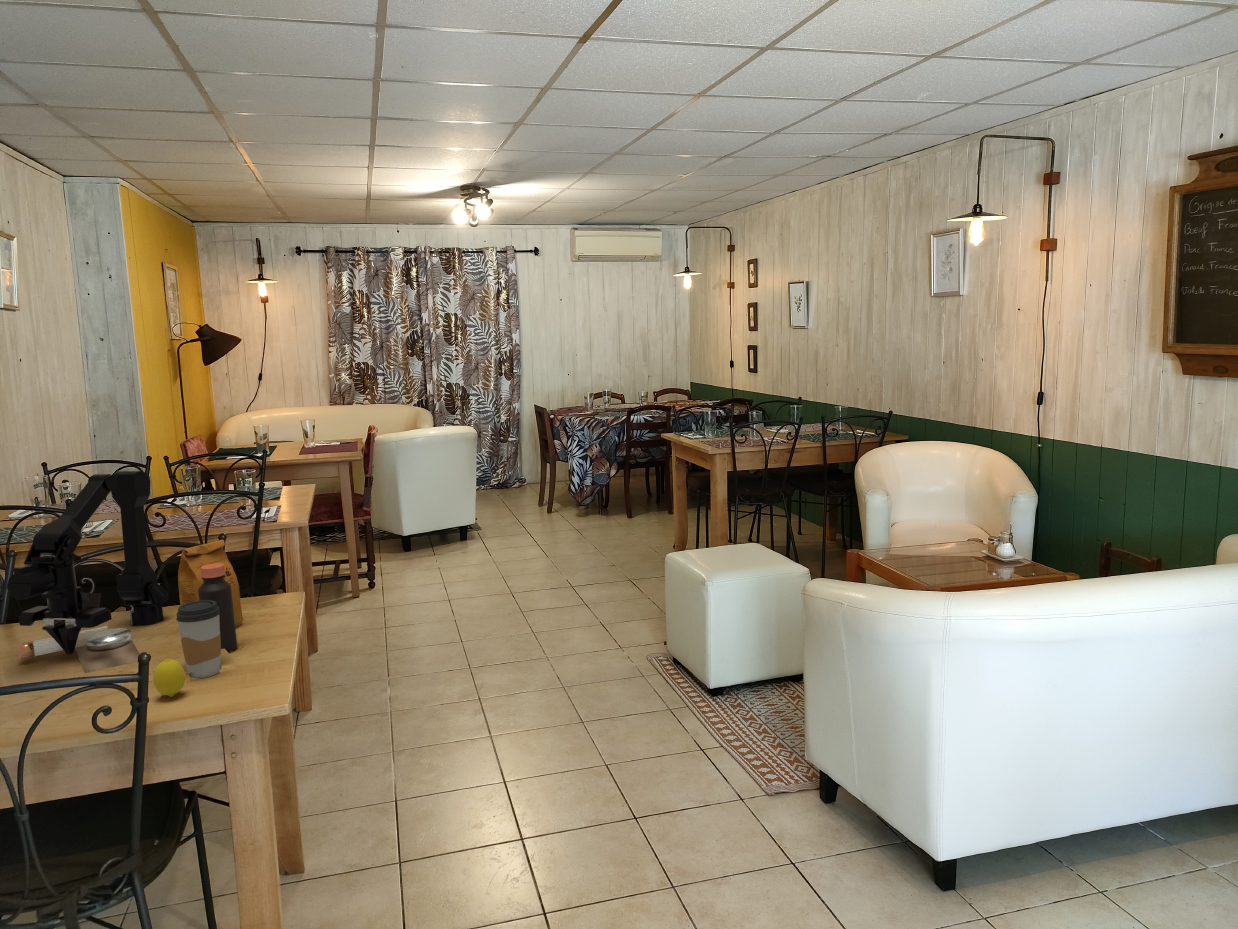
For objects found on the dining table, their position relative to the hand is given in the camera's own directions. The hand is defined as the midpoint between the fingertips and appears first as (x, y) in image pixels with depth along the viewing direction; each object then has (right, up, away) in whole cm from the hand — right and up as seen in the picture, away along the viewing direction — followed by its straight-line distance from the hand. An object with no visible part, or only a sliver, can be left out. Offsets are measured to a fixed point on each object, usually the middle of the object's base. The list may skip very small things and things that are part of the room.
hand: (70, 653), depth 188 cm
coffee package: (+22, +1, +20) cm, 30 cm away
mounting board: (+5, -2, +5) cm, 7 cm away
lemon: (+32, -5, -19) cm, 38 cm away
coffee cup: (+33, -3, -7) cm, 34 cm away
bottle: (+31, -1, +6) cm, 31 cm away
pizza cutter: (-1, 0, +4) cm, 4 cm away
